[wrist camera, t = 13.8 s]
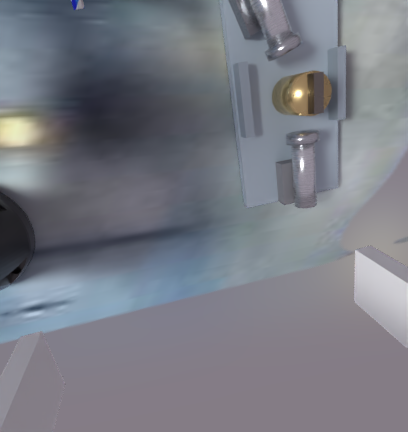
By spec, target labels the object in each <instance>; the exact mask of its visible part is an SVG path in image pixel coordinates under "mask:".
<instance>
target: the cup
mask: <svg viewBox="0 0 408 432" xmlns="http://www.w3.org/2000/svg"><path fill="white" fill-rule="evenodd" d="M71 2H72V5H73V8H74V10H76V9H82V8H85V7H84V4H83V0H71Z"/></svg>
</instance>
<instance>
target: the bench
mask: <svg viewBox="0 0 408 432" xmlns="http://www.w3.org/2000/svg"><path fill="white" fill-rule="evenodd" d="M281 1H282V4H283V7H284V9H285V12H286V15H287V18H288V20H289V23H290V26H291V29H292V31H293V34H295V33H297V32H299V34H300V36H301V39H302V42H303V43H302V44H301V45H299V46H298V47H296V48H295V49H293V50H291V51H290V52H288V53H286V54H284V55H282V56H280V57H279V58H277V59H275V60H272V61H270V62H269V61H268V59H267V57H266V54H265V51H266V50H268V49H269V47H268V45H267V42H266V40H265V37H264V35H263V32H262V30H260V31H258V32H257V33H255V34H253V35H252V36H250V37H248V38H247V39H245V38H244V36H243V34H242V31H241V29H240V27H239V24H238V22H237V20H236V17H235V15H234V13H233V10H232V8H231V6H230V3H229V1H228V0H219V2H220V11H221V19H222V27H223V35H224V44H225V52H226V60H227V69H228V77H229V85H230V93H231V102H232V110H233V118H234V126H235V135H236V143H237V151H238V160H239V168H240V176H241V184H242V193H243V201H244V206H245V207H246V208H251V207H255V206H259V205H264V204H268V203H273V202H277V201H279V202H281V203H282V204H284V205H286V204H291V203H294V189H293V171H292V154H291V145H287V144H286V134H288V133H291V132H295V131H302V130H319V136H320V141H318V142H316V143H315V167H316V192H321V191H325V190H330V189H334V188H338V120H342V119H346V46H339V47H338V0H281ZM308 71H320V72H324V74H325V75H326V76H327V77H328V79H329V81H330V83H331V88H332V94H331V99H330V101H329V103H328V105H327V107H326V108H325V109H324V113H319V114H317V115H314V116H296V115H283V114H281V113H279V112H278V111H277V110H276V109H275V107H274V106H273V103H272V92H273V88H274V86H275V85H276V83H277V82H278V81H279V80H280V79H281V78H283V77H286V76H290V75H294V74H299V73H304V72H308Z"/></svg>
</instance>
